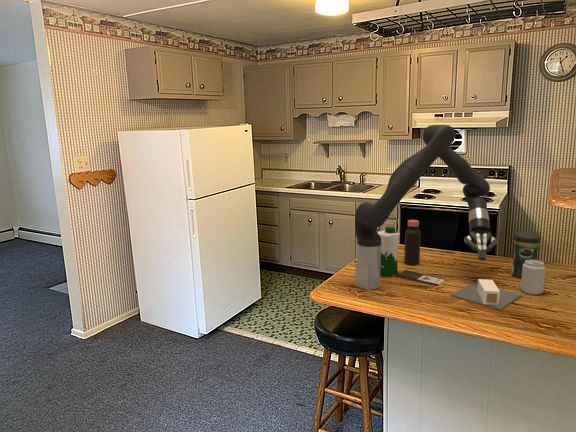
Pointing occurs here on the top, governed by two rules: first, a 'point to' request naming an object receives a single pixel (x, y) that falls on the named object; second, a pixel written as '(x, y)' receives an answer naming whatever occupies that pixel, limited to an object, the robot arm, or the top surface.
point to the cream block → (488, 292)
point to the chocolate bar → (420, 278)
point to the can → (533, 277)
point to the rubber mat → (471, 295)
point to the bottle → (412, 243)
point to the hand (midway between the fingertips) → (482, 259)
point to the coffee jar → (524, 250)
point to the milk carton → (389, 251)
